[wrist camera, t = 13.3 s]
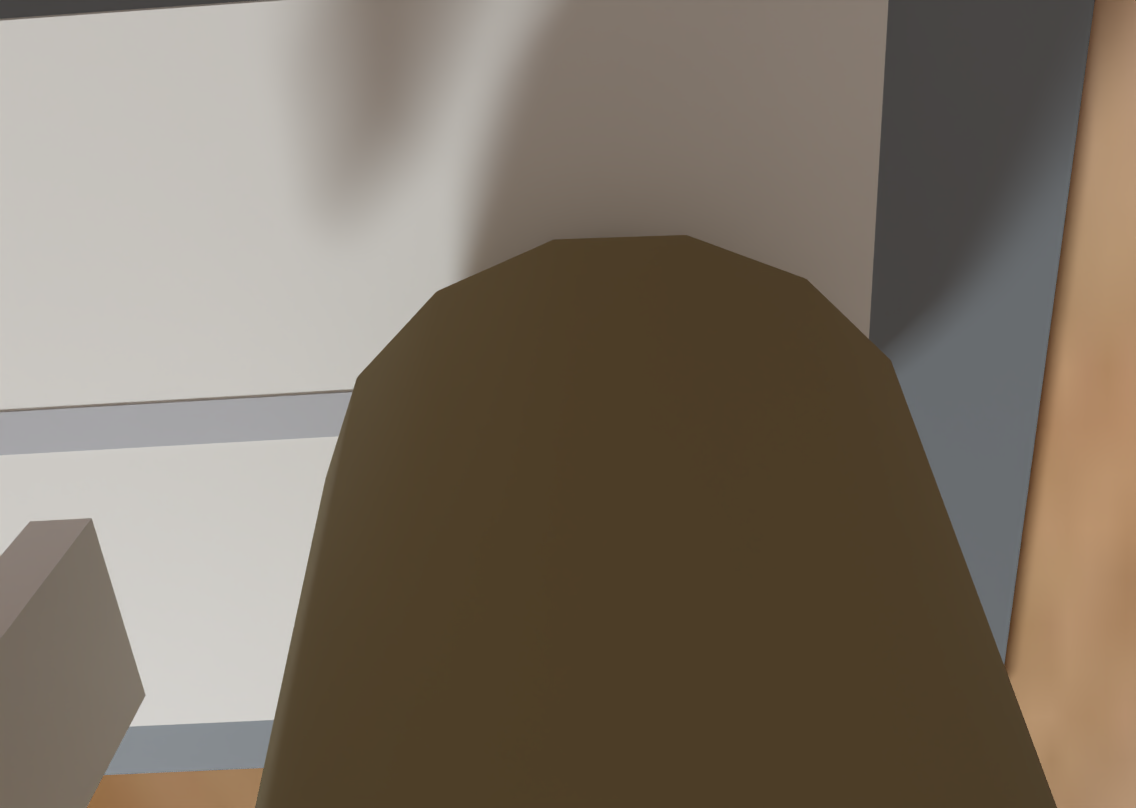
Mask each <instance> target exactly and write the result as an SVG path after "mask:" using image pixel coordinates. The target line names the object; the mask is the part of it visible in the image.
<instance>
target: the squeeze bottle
mask: <svg viewBox="0 0 1136 808" xmlns="http://www.w3.org/2000/svg"><path fill="white" fill-rule="evenodd" d="M255 808H1057V807H1056V804H1055V801H1054V799H1053V796H1052V793H1051V790H1050V788H1049V785H1048V782H1047V780H1046V777H1045V774H1044V772H1043V769H1042V766H1041V763H1040V761H1039V758H1038V755H1037V753H1036V750H1035V747H1034V745H1033V742H1032V739H1031V737H1030V734H1029V731H1028V728H1027V726H1026V723H1025V720H1024V718H1023V715H1022V712H1021V710H1020V707H1019V704H1018V701H1017V699H1016V696H1015V693H1014V691H1013V688H1012V685H1011V683H1010V680H1009V677H1008V675H1007V672H1006V669H1005V666H1004V664H1003V661H1002V658H1001V656H1000V653H999V650H998V648H997V645H996V642H995V639H994V637H993V634H992V631H991V629H990V626H989V623H988V621H987V618H986V615H985V613H984V610H983V607H982V604H981V602H980V599H979V596H978V594H977V591H976V588H975V586H974V583H973V580H972V577H971V575H970V572H969V569H968V567H967V564H966V561H965V559H964V556H963V553H962V551H961V548H960V545H959V542H958V540H957V537H956V534H955V532H954V529H953V526H952V524H951V521H950V518H949V515H948V513H947V510H946V507H945V505H944V502H943V499H942V497H941V494H940V491H939V489H938V486H937V483H936V480H935V478H934V475H933V472H932V470H931V467H930V464H929V462H928V459H927V456H926V453H925V451H924V448H923V445H922V443H921V440H920V437H919V435H918V432H917V429H916V427H915V424H914V421H913V418H912V416H911V413H910V410H909V408H908V405H907V402H906V400H905V397H904V394H903V391H902V389H901V386H900V383H899V381H898V378H897V375H896V373H895V370H894V367H893V365H892V362H891V360H890V359H889V358H888V357H887V356H886V355H885V354H884V353H883V352H882V351H881V350H880V349H879V348H878V347H877V346H876V345H875V344H873V343H872V342H871V341H870V340H869V339H868V338H867V337H866V336H865V335H864V334H863V333H862V332H861V331H860V330H859V329H858V328H857V327H856V326H855V325H854V324H853V323H852V322H851V321H850V320H849V319H848V318H847V317H846V316H844V315H843V314H842V313H841V312H840V311H839V310H838V309H837V308H836V307H835V306H834V305H833V304H832V303H831V302H830V301H829V300H828V299H827V298H826V297H825V296H824V295H823V294H822V293H821V292H820V291H819V290H818V289H817V288H815V287H814V286H813V285H812V284H811V283H810V282H809V281H808V280H807V279H805V278H803V277H800V276H797V275H795V274H792V273H789V272H786V271H784V270H781V269H778V268H775V267H773V266H770V265H767V264H764V263H762V262H759V261H756V260H754V259H751V258H748V257H745V256H743V255H740V254H737V253H734V252H732V251H729V250H726V249H723V248H721V247H718V246H715V245H713V244H710V243H707V242H704V241H702V240H699V239H696V238H693V237H691V236H688V235H668V236H639V237H610V238H581V239H554V240H551V241H549V242H547V243H545V244H542V245H540V246H538V247H536V248H533V249H531V250H529V251H527V252H524V253H522V254H520V255H518V256H515V257H513V258H511V259H509V260H506V261H504V262H502V263H500V264H497V265H495V266H493V267H490V268H488V269H486V270H484V271H481V272H479V273H477V274H475V275H472V276H470V277H468V278H466V279H463V280H461V281H459V282H457V283H454V284H452V285H450V286H448V287H445V288H443V289H441V290H438V291H436V293H435V294H434V295H433V296H432V297H431V298H430V299H429V300H428V301H427V302H426V303H425V304H424V305H423V307H422V308H421V309H420V310H419V311H418V312H417V313H416V314H415V315H414V316H413V317H412V318H411V320H410V321H409V322H408V323H407V324H406V325H405V326H404V327H403V328H402V329H401V330H400V331H399V332H398V334H397V335H396V336H395V337H394V338H393V339H392V340H391V341H390V342H389V343H388V344H387V345H386V347H385V348H384V349H383V350H382V351H381V352H380V353H379V354H378V355H377V356H376V357H375V358H374V359H373V361H372V362H371V363H370V364H369V365H368V366H367V367H366V368H365V369H364V370H363V371H362V372H361V373H360V375H359V376H358V377H357V379H356V382H355V385H354V389H353V392H352V395H351V398H350V401H349V405H348V408H347V411H346V414H345V417H344V421H343V424H342V427H341V430H340V433H339V437H338V440H337V443H336V446H335V449H334V453H333V456H332V459H331V462H330V465H329V469H328V472H327V475H326V478H325V483H324V487H323V492H322V497H321V502H320V506H319V511H318V516H317V520H316V525H315V530H314V534H313V539H312V544H311V548H310V553H309V558H308V562H307V567H306V572H305V576H304V581H303V586H302V591H301V595H300V600H299V605H298V609H297V614H296V619H295V623H294V628H293V633H292V637H291V642H290V647H289V651H288V656H287V661H286V666H285V670H284V675H283V680H282V684H281V689H280V694H279V698H278V703H277V708H276V712H275V717H274V722H273V726H272V731H271V736H270V740H269V745H268V750H267V755H266V759H265V764H264V769H263V773H262V778H261V783H260V787H259V792H258V797H257V801H256V806H255Z"/></svg>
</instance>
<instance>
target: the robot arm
mask: <svg viewBox="0 0 1136 808" xmlns="http://www.w3.org/2000/svg"><path fill="white" fill-rule="evenodd" d="M145 696H146V695H145V692H144V688H143V685H142V682H141V678H140V675H139V672H138V669H137V665H136V662H135V659H134V655H133V652H132V649H131V646H130V642H129V639H128V636H127V632H126V629H125V626H124V623H123V619H122V616H121V613H120V609H119V606H118V603H117V600H116V596H115V593H114V590H113V586H112V583H111V580H110V577H109V573H108V570H107V567H106V563H105V560H104V557H103V554H102V550H101V547H100V544H99V540H98V537H97V534H96V531H95V527H94V524H93V521H92V518H84V519H65V520H47V521H30V522H29V523H28V524H27V525H26V527H25V528H24V529H23V530H22V531H21V532H20V534H19V535H18V536H17V537H16V538H15V539H14V541H13V542H12V543H11V544H10V545H9V547H8V548H7V549H6V550H5V551H4V552H3V554H2V555H1V556H0V808H87V806H88V804H89V802H90V800H91V798H92V796H93V794H94V793H95V791H96V789H97V787H98V785H99V783H100V781H101V779H102V777H103V775H104V774H105V772H106V770H107V768H108V766H109V764H110V762H111V760H112V758H113V757H114V755H115V753H116V751H117V749H118V747H119V745H120V743H121V741H122V739H123V738H124V736H125V734H126V732H127V730H128V728H129V726H130V724H131V722H132V720H133V719H134V717H135V715H136V713H137V711H138V709H139V707H140V705H141V703H142V702H143V700H144V698H145Z"/></svg>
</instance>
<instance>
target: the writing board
mask: <svg viewBox="0 0 1136 808" xmlns="http://www.w3.org/2000/svg"><path fill="white" fill-rule="evenodd" d="M1094 2H1095V0H0V556H1V555H2V554H3V552H4V551H5V550H6V549H7V548H8V547H9V545H10V544H11V543H12V542H13V541H14V539H15V538H16V537H17V536H18V535H19V534H20V532H21V531H22V530H23V529H24V528H25V527H26V525H27V524H28V523H29V522H30V521H47V520H65V519H84V518H92V521H93V524H94V527H95V531H96V534H97V537H98V540H99V544H100V547H101V550H102V554H103V557H104V560H105V563H106V567H107V570H108V573H109V577H110V580H111V583H112V586H113V590H114V593H115V596H116V600H117V603H118V606H119V609H120V613H121V616H122V619H123V623H124V626H125V629H126V632H127V636H128V639H129V642H130V646H131V649H132V652H133V655H134V659H135V662H136V665H137V669H138V672H139V675H140V678H141V682H142V685H143V688H144V692H145V695H146V696H145V698H144V700H143V702H142V703H141V705H140V707H139V709H138V711H137V713H136V715H135V717H134V719H133V720H132V722H131V724H130V726H129V728H128V730H127V732H126V734H125V736H124V738H123V739H122V741H121V743H120V745H119V747H118V749H117V751H116V753H115V755H114V757H113V758H112V760H111V762H110V764H109V766H108V768H107V770H106V772H105V774H104V775H114V774H137V773H159V772H182V771H204V770H227V769H249V768H264V764H265V759H266V755H267V750H268V745H269V740H270V736H271V731H272V726H273V722H274V717H275V712H276V708H277V703H278V698H279V694H280V689H281V684H282V680H283V675H284V670H285V666H286V661H287V656H288V651H289V647H290V642H291V637H292V633H293V628H294V623H295V619H296V614H297V609H298V605H299V600H300V595H301V591H302V586H303V581H304V576H305V572H306V567H307V562H308V558H309V553H310V548H311V544H312V539H313V534H314V530H315V525H316V520H317V516H318V511H319V506H320V502H321V497H322V492H323V487H324V483H325V478H326V475H327V472H328V469H329V465H330V462H331V459H332V456H333V453H334V449H335V446H336V443H337V440H338V437H339V433H340V430H341V427H342V424H343V421H344V417H345V414H346V411H347V408H348V405H349V401H350V398H351V395H352V392H353V389H354V385H355V382H356V379H357V377H358V376H359V375H360V373H361V372H362V371H363V370H364V369H365V368H366V367H367V366H368V365H369V364H370V363H371V362H372V361H373V359H374V358H375V357H376V356H377V355H378V354H379V353H380V352H381V351H382V350H383V349H384V348H385V347H386V345H387V344H388V343H389V342H390V341H391V340H392V339H393V338H394V337H395V336H396V335H397V334H398V332H399V331H400V330H401V329H402V328H403V327H404V326H405V325H406V324H407V323H408V322H409V321H410V320H411V318H412V317H413V316H414V315H415V314H416V313H417V312H418V311H419V310H420V309H421V308H422V307H423V305H424V304H425V303H426V302H427V301H428V300H429V299H430V298H431V297H432V296H433V295H434V294H435V293H436V291H438V290H441V289H443V288H445V287H448V286H450V285H452V284H454V283H457V282H459V281H461V280H463V279H466V278H468V277H470V276H472V275H475V274H477V273H479V272H481V271H484V270H486V269H488V268H490V267H493V266H495V265H497V264H500V263H502V262H504V261H506V260H509V259H511V258H513V257H515V256H518V255H520V254H522V253H524V252H527V251H529V250H531V249H533V248H536V247H538V246H540V245H542V244H545V243H547V242H549V241H551V240H554V239H581V238H610V237H639V236H668V235H688V236H691V237H693V238H696V239H699V240H702V241H704V242H707V243H710V244H713V245H715V246H718V247H721V248H723V249H726V250H729V251H732V252H734V253H737V254H740V255H743V256H745V257H748V258H751V259H754V260H756V261H759V262H762V263H764V264H767V265H770V266H773V267H775V268H778V269H781V270H784V271H786V272H789V273H792V274H795V275H797V276H800V277H803V278H805V279H807V280H808V281H809V282H810V283H811V284H812V285H813V286H814V287H815V288H817V289H818V290H819V291H820V292H821V293H822V294H823V295H824V296H825V297H826V298H827V299H828V300H829V301H830V302H831V303H832V304H833V305H834V306H835V307H836V308H837V309H838V310H839V311H840V312H841V313H842V314H843V315H844V316H846V317H847V318H848V319H849V320H850V321H851V322H852V323H853V324H854V325H855V326H856V327H857V328H858V329H859V330H860V331H861V332H862V333H863V334H864V335H865V336H866V337H867V338H868V339H869V340H870V341H871V342H872V343H873V344H875V345H876V346H877V347H878V348H879V349H880V350H881V351H882V352H883V353H884V354H885V355H886V356H887V357H888V358H889V359H890V360H891V362H892V365H893V367H894V370H895V373H896V375H897V378H898V381H899V383H900V386H901V389H902V391H903V394H904V397H905V400H906V402H907V405H908V408H909V410H910V413H911V416H912V418H913V421H914V424H915V427H916V429H917V432H918V435H919V437H920V440H921V443H922V445H923V448H924V451H925V453H926V456H927V459H928V462H929V464H930V467H931V470H932V472H933V475H934V478H935V480H936V483H937V486H938V489H939V491H940V494H941V497H942V499H943V502H944V505H945V507H946V510H947V513H948V515H949V518H950V521H951V524H952V526H953V529H954V532H955V534H956V537H957V540H958V542H959V545H960V548H961V551H962V553H963V556H964V559H965V561H966V564H967V567H968V569H969V572H970V575H971V577H972V580H973V583H974V586H975V588H976V591H977V594H978V596H979V599H980V602H981V604H982V607H983V610H984V613H985V615H986V618H987V621H988V623H989V626H990V629H991V631H992V634H993V637H994V639H995V642H996V645H997V648H998V650H999V653H1000V656H1001V658H1002V661H1003V664H1004V663H1005V656H1006V648H1007V641H1008V633H1009V626H1010V619H1011V611H1012V604H1013V597H1014V589H1015V582H1016V575H1017V567H1018V560H1019V553H1020V545H1021V538H1022V531H1023V523H1024V516H1025V509H1026V501H1027V494H1028V487H1029V479H1030V472H1031V465H1032V457H1033V450H1034V442H1035V435H1036V428H1037V420H1038V413H1039V406H1040V398H1041V391H1042V384H1043V376H1044V369H1045V362H1046V354H1047V347H1048V340H1049V332H1050V325H1051V318H1052V310H1053V303H1054V296H1055V288H1056V281H1057V273H1058V266H1059V259H1060V251H1061V244H1062V237H1063V229H1064V222H1065V215H1066V207H1067V200H1068V193H1069V185H1070V178H1071V171H1072V163H1073V156H1074V149H1075V141H1076V134H1077V127H1078V119H1079V112H1080V104H1081V97H1082V90H1083V82H1084V75H1085V68H1086V60H1087V53H1088V46H1089V38H1090V31H1091V24H1092V16H1093V9H1094Z"/></svg>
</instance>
